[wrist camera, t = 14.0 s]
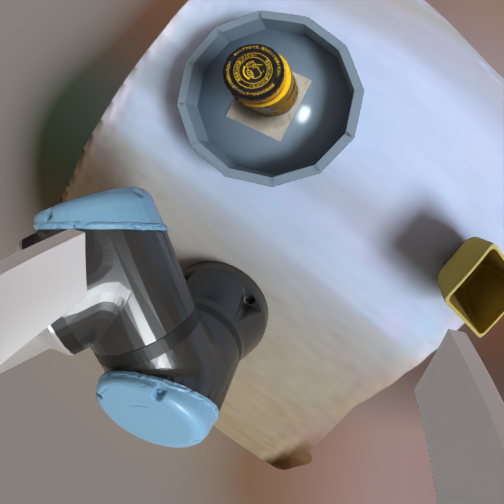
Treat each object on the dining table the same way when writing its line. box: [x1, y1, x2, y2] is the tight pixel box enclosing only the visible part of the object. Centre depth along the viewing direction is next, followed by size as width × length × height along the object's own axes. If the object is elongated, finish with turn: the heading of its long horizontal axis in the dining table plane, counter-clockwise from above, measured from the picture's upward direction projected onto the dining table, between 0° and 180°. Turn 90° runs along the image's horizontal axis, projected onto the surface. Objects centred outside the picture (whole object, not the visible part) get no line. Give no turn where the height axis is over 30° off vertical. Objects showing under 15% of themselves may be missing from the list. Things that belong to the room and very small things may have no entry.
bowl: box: [177, 11, 364, 187], centre depth 33 cm, size 20×20×5 cm
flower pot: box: [438, 237, 504, 337], centre depth 33 cm, size 9×9×9 cm
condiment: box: [222, 44, 312, 141], centre depth 29 cm, size 7×8×12 cm
